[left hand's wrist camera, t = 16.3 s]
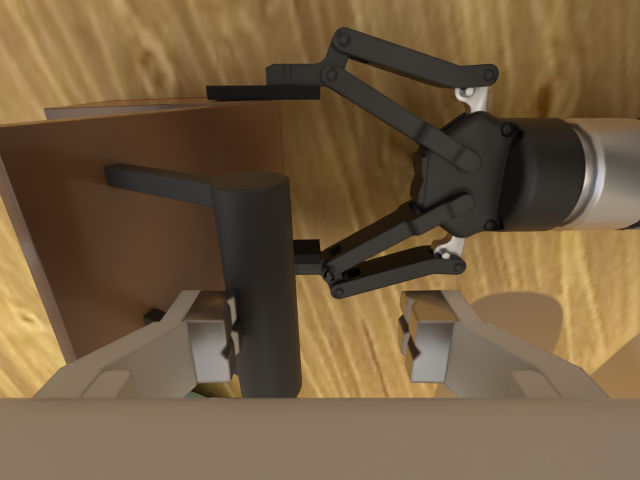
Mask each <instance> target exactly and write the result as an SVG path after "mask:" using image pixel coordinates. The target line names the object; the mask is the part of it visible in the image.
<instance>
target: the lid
mask: <svg viewBox="0 0 640 480" xmlns="http://www.w3.org/2000/svg"><path fill="white" fill-rule="evenodd" d="M0 195H1V197H2V200H3V202H4V205H5V207H6V210H7V213H8V215H9V218H10V220H11V223H12V225H13V228H14V230H15V233H16V236H17V238H18V241H19V243H20V246H21V248H22V251H23V254H24V256H25V259H26V261H27V264H28V266H29V269H30V272H31V274H32V277H33V279H34V282H35V284H36V287H37V290H38V292H39V295H40V297H41V300H42V302H43V305H44V307H45V310H46V313H47V315H48V318H49V320H50V323H51V325H52V328H53V331H54V333H55V336H56V338H57V341H58V343H59V346H60V349H61V351H62V354H63V356H64V359H65V361H66V364H67V365H68V364H70V363H72V362H74V361H76V360H78V359H80V358H82V357H84V356H86V355H88V354H90V353H92V352H94V351H96V350H98V349H100V348H102V347H104V346H106V345H108V344H110V343H112V342H114V341H116V340H118V339H120V338H122V337H124V336H126V335H128V334H130V333H132V332H134V331H136V330H139V329H141V328H143V327H145V326H147V325H149V324H151V323H153V322H160V321H161V319H162V318H163V317H164V315H165V314H166V312H167V311H168V310H169V308H170V307H171V305H172V304H173V303H174V301H175V300H176V299H177V297H178V296H179V294H180V293H181V292H182V291H184V290H202V291H203V290H218V291H239V300H240V311H239V313H238V316H239V318H240V319H241V321H242V327H243V342H242V347H241V351H240V353H239V354H238V355H236V367H235V370H234V374H236V375H238V376H239V381H240V388H241V394H242V397H243V398H296V397H297V395H298V394H299V392H300V390H301V387H302V375H301V359H300V343H299V327H298V311H297V296H296V280H295V264H294V248H293V232H292V217H291V201H290V185H289V179H288V177H287V176H285V175H284V163H283V148H282V134H281V119H280V104H279V101H255V102H244V103H233V104H222V105H211V106H200V107H189V108H178V109H167V110H156V111H144V112H133V113H122V114H111V115H100V116H89V117H78V118H67V119H56V120H45V121H34V122H23V123H11V124H0Z"/></svg>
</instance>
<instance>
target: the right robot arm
mask: <svg viewBox="0 0 640 480" xmlns="http://www.w3.org/2000/svg"><path fill="white" fill-rule="evenodd" d="M348 58H349V59H352V60H355V61H358V62H361V63H364V64H367V65H370V66H373V67H376V68H379V69H382V70H385V71H388V72H392V73H395V74H398V75H401V76H404V77H407V78H410V79H413V80H416V81H419V82H422V83H425V84H428V85H431V86H435V87H440V88H450V96H451V98H452V99H453V100H454V101H458V102H461V103H462V104H463V105H464V107H465V112H464V113H462V114H461V115H460V116H458V117H457V118H455V119H454V120H453V121H451V122H450V123H448V124H447V125H445V126H444V127H443V128H441V129H440V130H439V129H437V128H436V127H434V126H432V125H431V124H429V123H427V122H425V121H423V120H422V119H420V118H419V117H417V116H416V115H414V114H412V113H411V112H409V111H408V110H406V109H405V108H403V107H402V106H400V105H398V104H397V103H395V102H394V101H392V100H391V99H389V98H388V97H386V96H384V95H383V94H381V93H380V92H378V91H377V90H375V89H374V88H372V87H370V86H369V85H367V84H366V83H364V82H363V81H361V80H359V79H358V78H356V77H355V76H353V75H352V74H350V73H349V72H347V71H345V70H344V68H345V65H346V63H347V60H348ZM498 75H499V71H498V69H497V67H496V66H495V65H493V64H482V65H468V66H459V65H456V64H453V63H450V62H447V61H444V60H441V59H438V58H435V57H432V56H429V55H426V54H423V53H421V52H418V51H415V50H412V49H409V48H406V47H403V46H400V45H397V44H394V43H391V42H388V41H385V40H382V39H379V38H376V37H373V36H370V35H367V34H364V33H361V32H359V31H356V30H353V29H350V28H346V27H342V28H339V29H338V30H337V31H336V32H335V34H334V36H333V38H332V40H331V43H330V46H329V49H328V52H327V55H326V57H325V59H324V60H323V61H322V62H320V63H317V64H273V65H271V66H268V67H266V84H267V86H206V90H207V99H208V100H320V86H327V87H328V88H330V89H331V90H333V91H335V92H336V93H338V94H339V95H341V96H343V97H344V98H346V99H347V100H349V101H351V102H352V103H354V104H355V105H357V106H359V107H360V108H362V109H363V110H365V111H367V112H368V113H370V114H371V115H373V116H375V117H376V118H378V119H380V120H381V121H383V122H384V123H386V124H388V125H389V126H391V127H392V128H394V129H396V130H397V131H399V132H400V133H402V134H404V135H405V136H406V137H408V138H410V139H411V140H413V141H414V142H416V143H418V144H419V145H420V146H419V148H418V149H417V152H414V157H413V166H414V172H415V175H414V178H413V181H412V184H411V189H410V196H411V197H412V199H411V200H409V201H408V202H406V203H404V204H402V205H401V206H400V207H399V208H398V209H397V210H396V211H394V212H393V213H391V214H389V215H387V216H385V217H383V218H382V219H380V220H378V221H376V222H374V223H372V224H371V225H369V226H367V227H365V228H363V229H361V230H360V231H358V232H356V233H354V234H352V235H350V236H349V237H347V238H345V239H343V240H341V241H339V242H337V243H336V244H334V245H332V246H330V247H328V248H326V249H325V250H323V251H320V241H319V239H312V240H293V248H294V264H295V275H321V276H322V277H323V279H324V280H325V281H326V282H327V283H328V285H329V288H330V290H331V295H332V297H334V298H336V299H342V298H346V297H349V296H353V295H357V294H360V293H364V292H368V291H372V290H375V289H379V288H383V287H386V286H390V285H394V284H397V283H401V282H405V281H408V280H412V279H416V278H420V277H423V276H427V275H431V274H452V275H458V274H461V273H463V272H464V271H465V269H466V263H465V262H464V260H463V259H462V258H461V257H462V252H463V248H464V244H465V239H466V238H467V237H470V236H472V235H474V234H476V233H479V232H482V231H494V232H519V231H548V230H556V231H585V230H625V229H640V118H566V119H564V120H561V119H558V118H496V117H494V116H493V115H491V114H490V113H488V112H487V102H488V92H489V86H491V85H493V84H494V83H495V82H496V80H497V79H498ZM437 226H440V227H441V228H443V229H444V230H446V231H447V232H448V233H447V235H446V237H444V238H443V239H439V240H434V241H432V244H431V245H426V246H419V247H414V248H411V249H407V250H404V251H400V252H396V253H393V254H389V255H386V256H382V257H378V258H375V259H371V260H368V261H365V260H367V259H369V258H371V257H372V256H374V255H376V254H378V253H380V252H382V251H384V250H386V249H388V248H390V247H391V246H393V245H395V244H397V243H399V242H401V241H403V240H405V239H407V238H409V237H410V236H413V235H417V236H418V235H421V234H423V233H425V232H427V231H429V230H431V229H433V228H435V227H437ZM363 261H364V262H363Z"/></svg>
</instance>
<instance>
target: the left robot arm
mask: <svg viewBox="0 0 640 480" xmlns="http://www.w3.org/2000/svg"><path fill="white" fill-rule="evenodd" d="M400 307H401V310H402V313H403V315H402V316H401V317H400V318H399V319H398V341H399V347H400V350H401V353H402V354H403V355H405V356H406V359H405V366H406V369H407V372H408V375H409V378H410V381H411V383H445V384H444V385H445V386H446V387H447V388H448V389H450V390H451V391H452V392H453V393H454V394H455V395H456V396H457V397H458V398H183V397H184V396H186V395H187V394H188V393H189V392H190V391H191V390H192V389H193V388H194V387H195V386H197V383H231V379H232V376H233V373H234V370H235V367H236V355H238V354H239V353H240V351H241V347H242V342H243V327H242V321H241V319H240V318H239V316H238V313H239V311H240V300H239V291H218V290H203V291H202V290H184V291H182V292H181V293H180V294H179V296H178V297H177V299H176V300H175V301H174V303H173V304H172V305H171V307H170V308H169V310H168V311H167V312H166V314H165V315H164V317H163V318H162V319H161V321H160V322H153V323H151V324H149V325H147V326H145V327H143V328H141V329H139V330H136V331H134V332H132V333H130V334H128V335H126V336H124V337H122V338H120V339H118V340H116V341H114V342H112V343H110V344H108V345H106V346H104V347H102V348H100V349H98V350H96V351H94V352H92V353H90V354H88V355H86V356H84V357H82V358H80V359H78V360H76V361H74V362H72V363H70V364H68V365H66V366H64V367H62V368H60V369H59V370H58V371H57V372H56V373H55V374H54V375H53V376H52V377H51V378H50V379H49V381H48V382H47V383H46V384H45V385H44V386H43V387H42V388H41V389H40V390H39V391H38V392H37V393H36V394H35V395H34V396H33V397H32V398H0V480H640V398H610V397H609V396H608V395H607V394H606V393H605V392H604V391H603V390H602V389H601V388H600V387H599V386H598V385H597V383H595V381H594V380H593V379H592V378H591V377H590V376H589V375H588V374H587V373H586V372H585V371H584V370H583V369H582V368H580V367H578V366H576V365H574V364H572V363H570V362H568V361H566V360H564V359H562V358H560V357H558V356H556V355H554V354H552V353H550V352H548V351H546V350H543V349H542V348H539V347H537V346H535V345H533V344H531V343H529V342H527V341H525V340H523V339H521V338H519V337H517V336H515V335H513V334H511V333H509V332H507V331H505V330H503V329H501V328H499V327H497V326H495V325H493V324H491V323H489V322H482V321H481V320H480V319H479V317H478V316H477V315H476V313H475V312H474V311H473V309H472V308H471V306H470V305H469V304H468V302H467V301H466V300H465V298H464V297H463V296H462V294H461V293H460V291H458V290H427V291H403V292H402V294H401V298H400Z"/></svg>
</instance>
